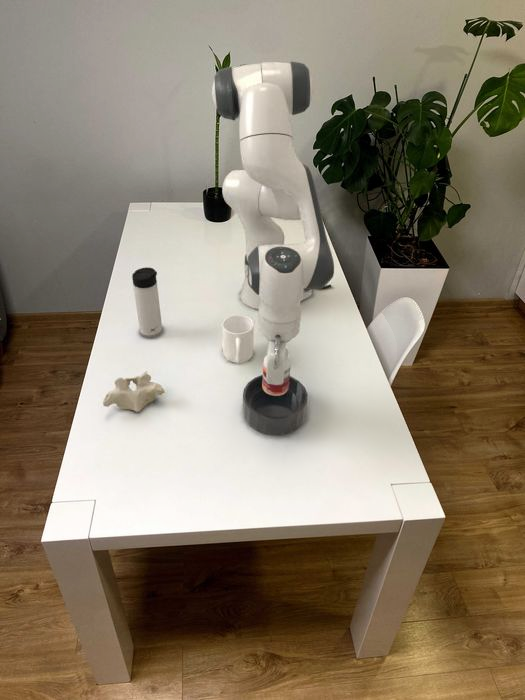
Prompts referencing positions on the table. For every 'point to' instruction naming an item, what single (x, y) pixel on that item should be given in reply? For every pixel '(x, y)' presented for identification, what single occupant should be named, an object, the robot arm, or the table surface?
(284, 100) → the robot arm
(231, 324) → the cup
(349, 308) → the table surface
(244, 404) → the bowl
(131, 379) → the bone
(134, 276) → the travel mug
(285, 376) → the pill bottle
